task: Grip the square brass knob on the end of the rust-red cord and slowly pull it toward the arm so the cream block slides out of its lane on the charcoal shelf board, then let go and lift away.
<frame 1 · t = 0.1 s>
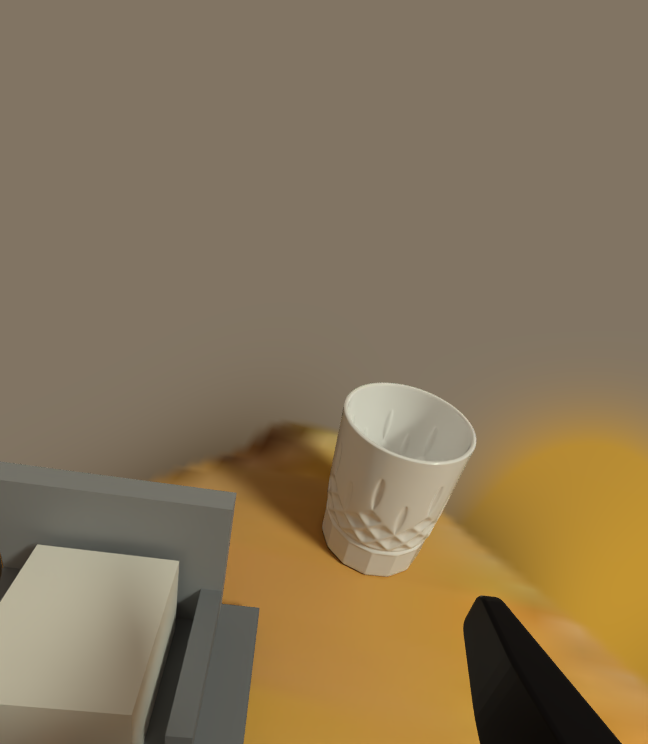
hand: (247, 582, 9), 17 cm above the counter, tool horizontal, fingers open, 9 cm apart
white cup: (368, 537, 32), on the counter
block: (86, 688, 20), point 1 cm above the counter, touching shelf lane
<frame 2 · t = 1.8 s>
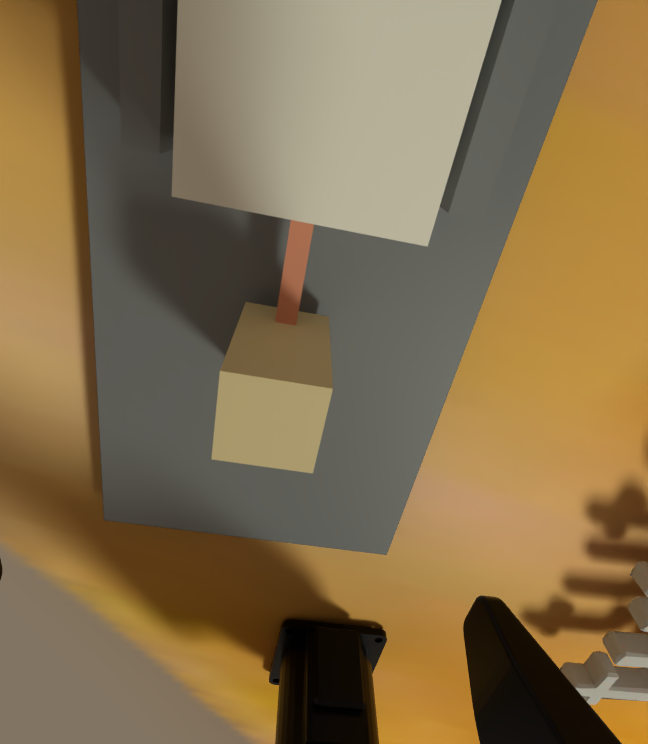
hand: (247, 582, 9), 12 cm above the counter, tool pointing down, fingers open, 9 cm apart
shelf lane: (288, 304, 18), on the counter
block: (324, 83, 14), point 1 cm above the counter, touching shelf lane
when the fingers open (2 cm above the counter, at t = 8.4 s): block stays where it is, resting on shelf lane.
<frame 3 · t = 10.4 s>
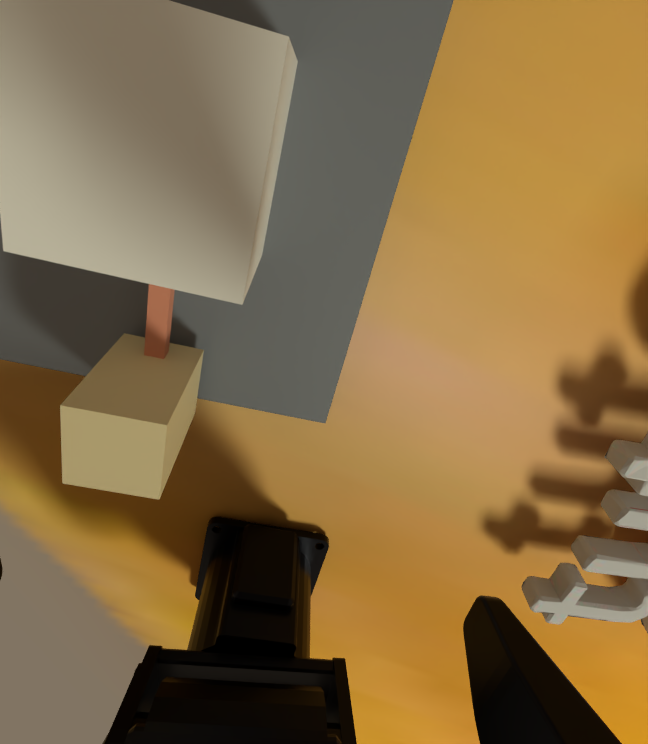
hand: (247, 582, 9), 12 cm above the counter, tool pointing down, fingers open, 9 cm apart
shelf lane: (203, 59, 15), on the counter
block: (186, 143, 15), point 1 cm above the counter, touching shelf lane
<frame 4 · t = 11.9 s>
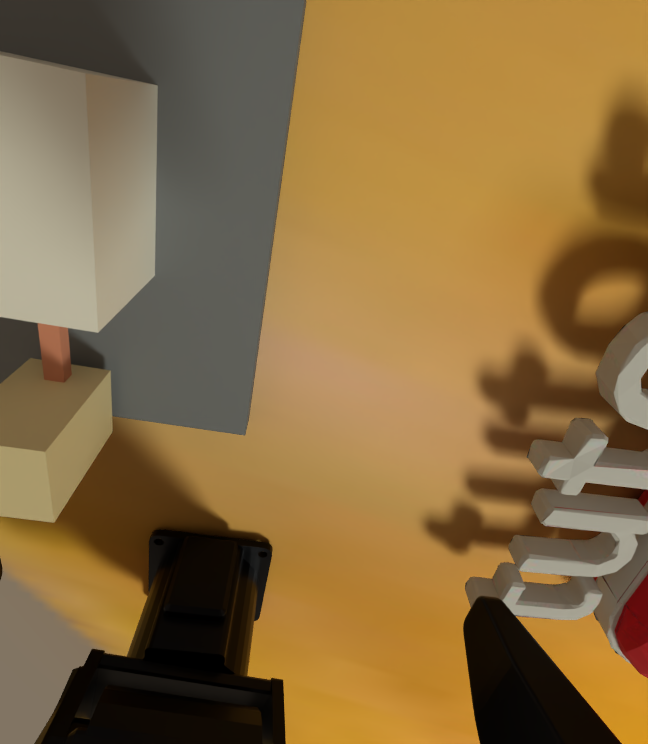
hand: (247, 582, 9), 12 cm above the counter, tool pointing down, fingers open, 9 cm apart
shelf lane: (73, 87, 15), on the counter
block: (62, 171, 15), point 1 cm above the counter, touching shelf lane
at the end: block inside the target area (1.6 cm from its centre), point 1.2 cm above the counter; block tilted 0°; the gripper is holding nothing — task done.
